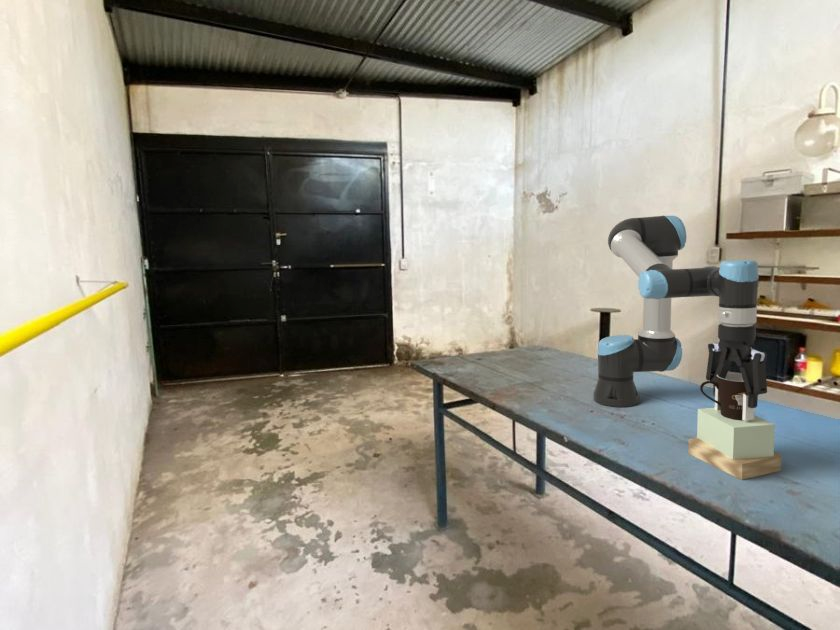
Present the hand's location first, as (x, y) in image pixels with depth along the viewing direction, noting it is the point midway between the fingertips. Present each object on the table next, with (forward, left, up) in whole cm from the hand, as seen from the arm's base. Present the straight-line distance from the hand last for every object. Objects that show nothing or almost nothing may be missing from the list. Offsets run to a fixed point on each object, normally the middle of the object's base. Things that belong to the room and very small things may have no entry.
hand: (733, 414), depth 112 cm
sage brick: (0, 0, -9) cm, 9 cm away
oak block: (0, 0, -13) cm, 13 cm away
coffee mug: (-1, 0, -1) cm, 1 cm away
